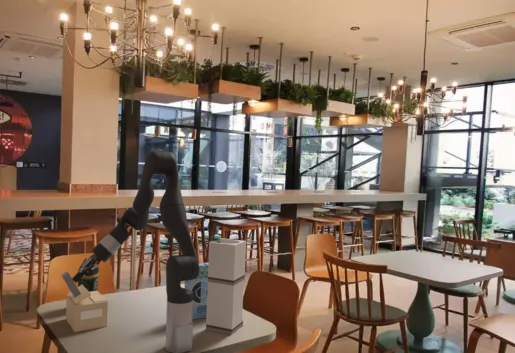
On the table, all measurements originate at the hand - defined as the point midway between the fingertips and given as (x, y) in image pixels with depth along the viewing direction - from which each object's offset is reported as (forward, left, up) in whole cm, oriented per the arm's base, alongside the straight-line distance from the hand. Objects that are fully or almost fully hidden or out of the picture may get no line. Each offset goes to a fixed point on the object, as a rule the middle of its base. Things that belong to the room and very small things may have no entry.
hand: (73, 281), depth 165 cm
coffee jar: (+19, -10, -18) cm, 28 cm away
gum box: (-16, -51, -18) cm, 56 cm away
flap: (0, -2, -6) cm, 6 cm away
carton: (0, -5, -17) cm, 18 cm away
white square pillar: (-32, -51, -18) cm, 63 cm away
